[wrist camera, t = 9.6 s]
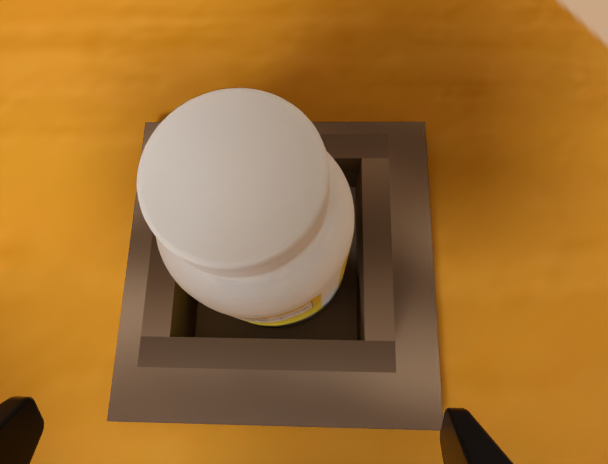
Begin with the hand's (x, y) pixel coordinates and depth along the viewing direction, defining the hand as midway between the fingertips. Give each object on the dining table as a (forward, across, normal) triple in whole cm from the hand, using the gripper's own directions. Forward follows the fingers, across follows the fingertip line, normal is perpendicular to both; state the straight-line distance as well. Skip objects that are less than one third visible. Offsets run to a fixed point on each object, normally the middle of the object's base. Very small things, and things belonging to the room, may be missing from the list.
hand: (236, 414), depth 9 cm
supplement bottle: (+9, 0, +2) cm, 9 cm away
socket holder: (+10, 0, +2) cm, 10 cm away
